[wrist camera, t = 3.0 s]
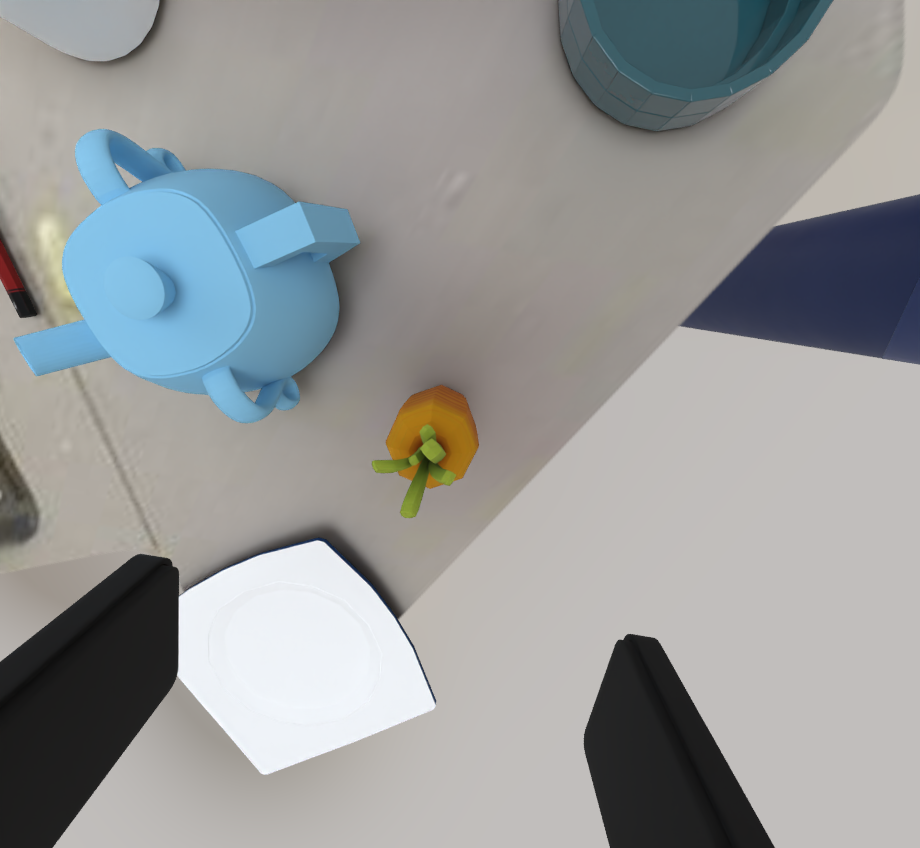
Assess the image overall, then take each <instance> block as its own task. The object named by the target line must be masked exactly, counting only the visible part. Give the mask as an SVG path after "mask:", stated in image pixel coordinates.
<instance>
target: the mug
mask: <svg viewBox="0 0 920 848" xmlns="http://www.w3.org/2000/svg"><path fill="white" fill-rule="evenodd" d="M158 7H159V0H0V17H2V18H3V19H5V20H7V21H8V22H10V23H12V24H13V25H15V26H17V27H19V28H20V29H22V30H24V31H25V32H27V33H29V34H30V35H32V36H34V37H36V38H37V39H39V40H41V41H42V42H44V43H46V44H48V45H49V46H51V47H53V48H55V49H57V50H59V51H61V52H64V53H66V54H68V55H71V56H74V57H77V58H80V59H83V60H87V61H110V60H113V59H116V58H119V57H122V56H125V55H127V54H128V53H129V52H130V51H132V50H133V49H134V48H136V47H137V46H138V45H139V44H141V42H142V41H143V39H144V38H145V36H146V35H147V33H148V32H149V30H150V29H151V27H152V25H153V22H154V19H155V16H156V13H157V10H158Z"/></svg>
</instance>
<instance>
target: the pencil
mask: <svg viewBox="0 0 920 848" xmlns="http://www.w3.org/2000/svg"><path fill="white" fill-rule="evenodd" d="M0 279H1V281H2V283H3V285H4V287H5V289H6V291H7V293H8V295H9V297H10V299H11V301H12V303H13V305H14V307H15V309H16V311H17V313H18V315H19V317H20V318H26V317H32V316H36V315H37V313H36V311H35V309H34V307H33V305H32V302H31V300H30V298H29V296H28V294H27V292H26V290H25V288H24V286H23V284H22V282H21V280H20V278H19V276H18V274H17V272H16V270H15V268H14V266H13V264H12V262H11V260H10V258H9V256H8V254H7V252H6V250H5V248H4V246H3V243H2V241H1V239H0Z"/></svg>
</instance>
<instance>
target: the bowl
mask: <svg viewBox="0 0 920 848" xmlns="http://www.w3.org/2000/svg"><path fill="white" fill-rule="evenodd" d="M558 2H559V20H560V37H561V42H562V45H563V48H564V51H565V54H566V57H567V60H568V63H569V66H570V69H571V71H572V74H573V77H574V78H575V80H576V81H577V82H578V84H579V85H580V86H581V88H582V89H583V90H584V92H585V93H586V94H587V96H588V97H589V98H590V100H591V101H592V102H593V104H594V105H595V106H596V107H598V108H600V109H601V110H603V111H604V112H606V113H607V114H609V115H610V116H612V117H613V118H615V119H617V120H618V121H620V122H621V123H623V124H625V125H629V126H634V127H639V128H644V129H649V130H654V131H662V130H669V129H675V128H681V127H688V126H691V125H694V124H696V123H698V122H700V121H702V120H704V119H706V118H708V117H710V116H712V115H713V114H715V113H717V112H719V111H721V110H723V109H725V108H726V107H728V106H729V105H730V104H732V103H733V102H735V101H736V100H737V99H739V98H740V97H741V96H743V95H744V94H745V93H747V92H748V91H750V90H751V89H752V88H754V87H755V86H756V85H758V84H759V83H761V82H762V81H763V80H765V79H766V78H767V77H769V76H770V75H772V74H773V73H774V72H775V71H776V70H777V69H778V68H779V67H780V66H781V65H782V64H783V63H784V62H786V61H787V60H788V59H789V58H790V57H791V56H792V55H793V54H794V53H795V52H796V51H797V50H798V49H799V48H800V47H801V46H802V45H804V44H805V43H806V42H807V40H808V39H809V38H810V36H811V35H812V33H813V31H814V30H815V28H816V27H817V25H818V24H819V22H820V21H821V19H822V17H823V16H824V14H825V13H826V11H827V10H828V8H829V6H830V5H831V3H832V2H833V0H558Z"/></svg>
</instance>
